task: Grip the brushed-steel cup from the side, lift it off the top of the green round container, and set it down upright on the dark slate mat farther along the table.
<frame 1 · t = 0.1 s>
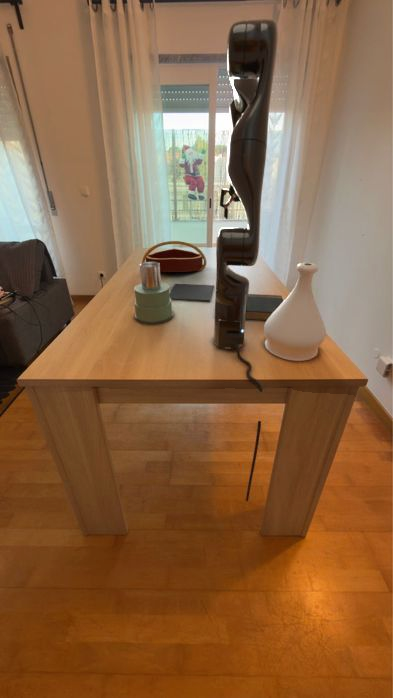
hand: (237, 219, 110), 29 cm above the table, tool pointing down, fingers open, 8 cm apart
book: (249, 310, 109), on the table
green round container: (154, 315, 104), on the table
slate mat: (191, 292, 124), on the table
steel cup: (151, 287, 98), point 11 cm above the table, touching green round container
vase: (290, 346, 86), on the table
decorative basket: (175, 270, 153), on the table
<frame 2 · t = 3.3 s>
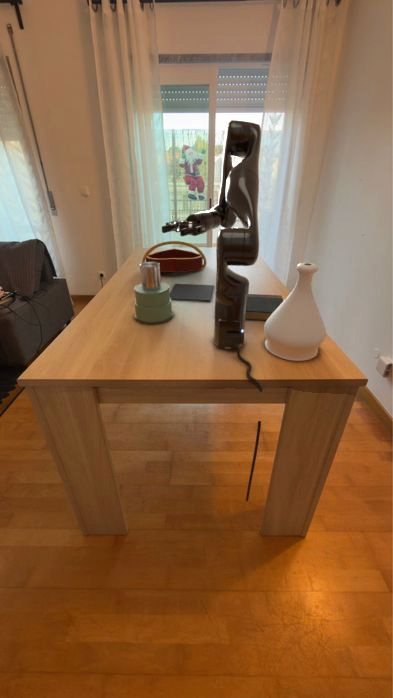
hand: (171, 231, 97), 28 cm above the table, tool horizontal, fingers open, 8 cm apart
nothing on the table moved.
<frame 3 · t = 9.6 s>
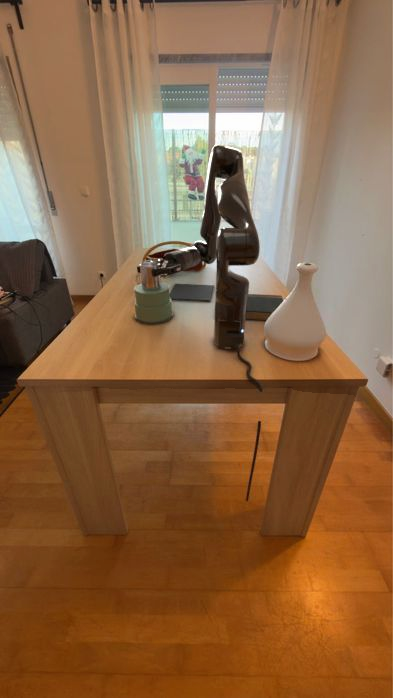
hand: (145, 271, 94), 17 cm above the table, tool horizontal, fingers closed on steel cup, 6 cm apart
steel cup: (151, 287, 98), point 11 cm above the table, touching green round container, gripper
everything else where it was.
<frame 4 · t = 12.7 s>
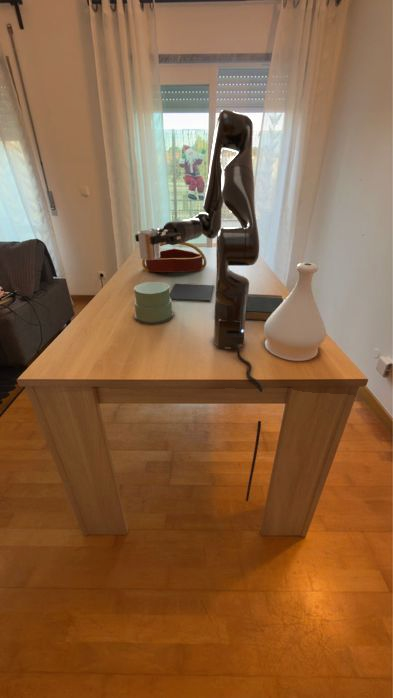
hand: (143, 239, 90), 27 cm above the table, tool horizontal, fingers closed on steel cup, 6 cm apart
steel cup: (150, 257, 95), point 21 cm above the table, touching gripper
everything else where it was.
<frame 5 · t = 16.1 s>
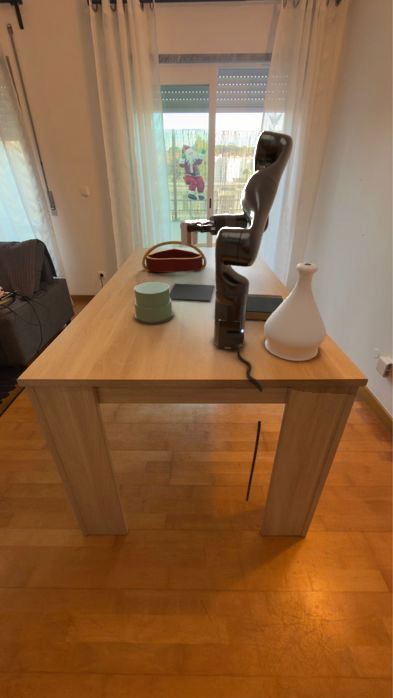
hand: (183, 227, 109), 27 cm above the table, tool horizontal, fingers closed on steel cup, 6 cm apart
steel cup: (189, 243, 113), point 21 cm above the table, touching gripper
everything else where it was.
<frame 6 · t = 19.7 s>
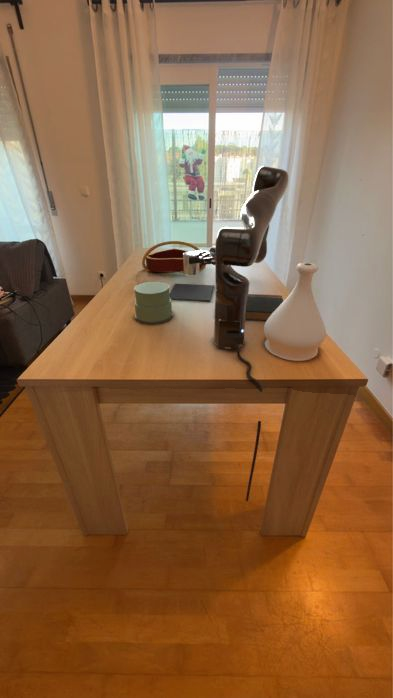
hand: (186, 259, 115), 15 cm above the table, tool horizontal, fingers closed on steel cup, 6 cm apart
steel cup: (191, 272, 119), point 9 cm above the table, touching gripper
everything else where it was.
when the fingers open (7 cm above the table, at t = 22.6 s): steel cup stays where it is, resting on slate mat.
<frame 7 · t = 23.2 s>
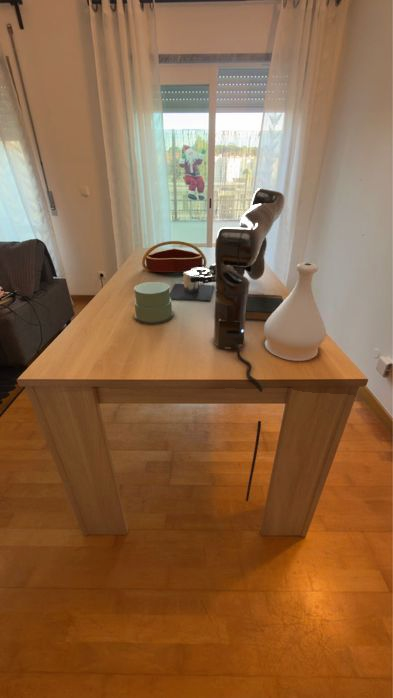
hand: (187, 276, 120), 7 cm above the table, tool horizontal, fingers open, 8 cm apart
steel cup: (191, 291, 124), point 1 cm above the table, touching slate mat
everything else where it was.
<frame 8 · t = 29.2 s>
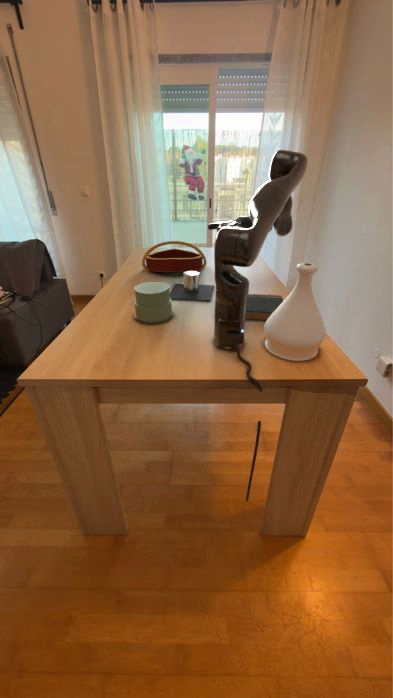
hand: (212, 228, 112), 26 cm above the table, tool horizontal, fingers open, 8 cm apart
nothing on the table moved.
at the end: steel cup inside the target area on the slate mat (0.1 cm from its centre), point 0.6 cm above the slate mat's base; steel cup tilted 0°; the gripper is holding nothing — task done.
